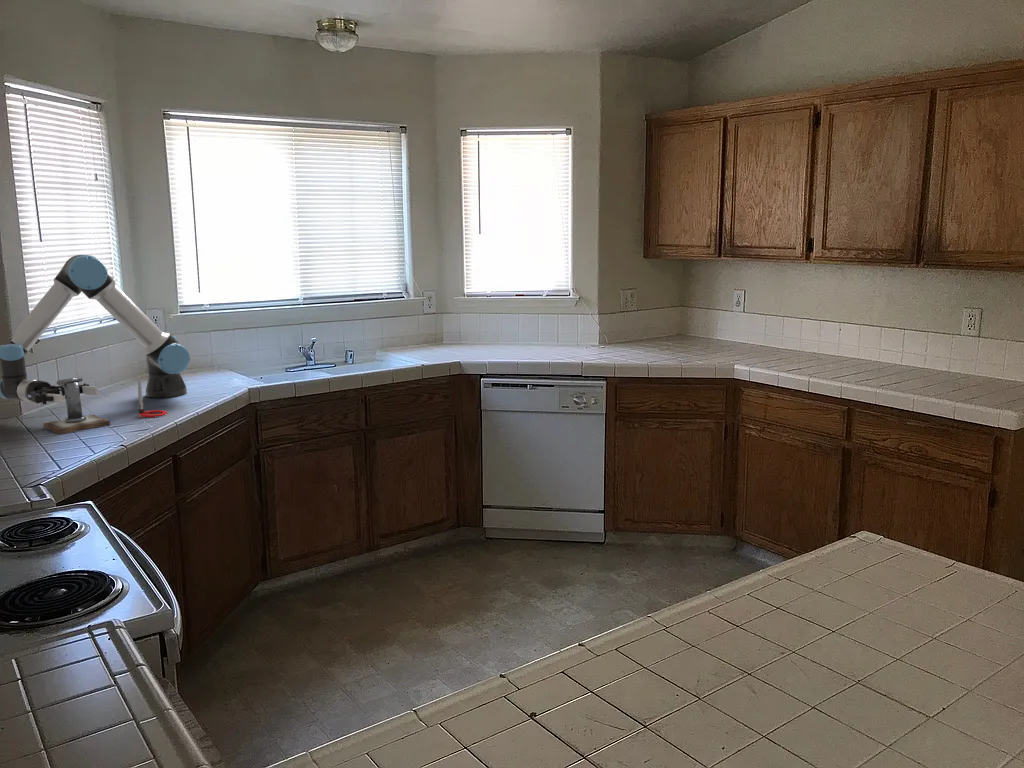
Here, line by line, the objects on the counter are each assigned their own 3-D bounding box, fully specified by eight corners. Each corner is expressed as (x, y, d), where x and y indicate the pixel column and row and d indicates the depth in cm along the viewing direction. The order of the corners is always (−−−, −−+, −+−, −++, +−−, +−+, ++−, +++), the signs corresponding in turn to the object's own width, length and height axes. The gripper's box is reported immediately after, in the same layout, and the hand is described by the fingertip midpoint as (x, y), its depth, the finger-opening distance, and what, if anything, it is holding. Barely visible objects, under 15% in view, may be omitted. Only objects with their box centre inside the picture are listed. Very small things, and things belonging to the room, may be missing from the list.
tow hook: (168, 412, 298) (140, 413, 295) (166, 377, 296) (138, 378, 293) (166, 417, 290) (137, 419, 288) (164, 381, 288) (135, 382, 285)
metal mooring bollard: (82, 417, 283) (77, 375, 280) (90, 419, 279) (85, 377, 276) (58, 421, 277) (52, 379, 274) (66, 424, 273) (60, 381, 270)
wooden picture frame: (93, 418, 289) (93, 413, 288) (109, 424, 279) (109, 419, 279) (44, 427, 277) (43, 421, 277) (59, 434, 268) (58, 428, 268)
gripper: (68, 394, 295) (112, 398, 287) (2, 409, 273) (47, 414, 265) (66, 374, 294) (109, 377, 286) (-1, 387, 271) (44, 391, 263)
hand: (80, 394), depth 275 cm, fingers open, 13 cm apart
